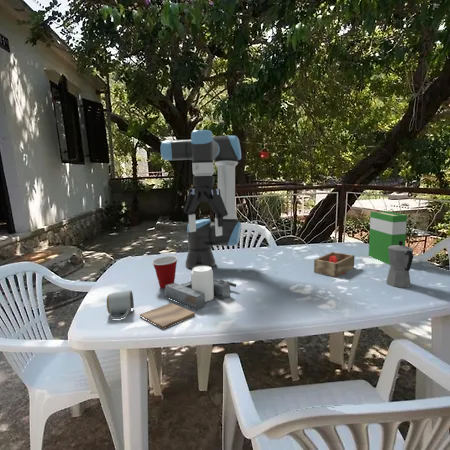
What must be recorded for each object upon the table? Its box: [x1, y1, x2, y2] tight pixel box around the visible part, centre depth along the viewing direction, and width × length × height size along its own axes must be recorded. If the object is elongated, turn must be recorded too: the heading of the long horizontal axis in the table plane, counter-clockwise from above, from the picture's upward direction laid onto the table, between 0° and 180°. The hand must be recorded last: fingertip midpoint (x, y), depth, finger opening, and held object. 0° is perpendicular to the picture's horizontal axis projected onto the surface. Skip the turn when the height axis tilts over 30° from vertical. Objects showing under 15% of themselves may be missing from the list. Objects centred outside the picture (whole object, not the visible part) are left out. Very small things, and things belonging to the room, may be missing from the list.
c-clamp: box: [164, 278, 237, 311], centre depth 130 cm, size 18×23×5 cm
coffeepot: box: [386, 241, 414, 288], centre depth 134 cm, size 15×9×18 cm, turn 0°
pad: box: [139, 302, 196, 329], centre depth 112 cm, size 13×13×1 cm
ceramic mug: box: [106, 290, 135, 320], centre depth 114 cm, size 11×8×8 cm
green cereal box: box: [368, 210, 408, 266], centre depth 169 cm, size 18×7×24 cm, turn 10°
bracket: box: [329, 256, 346, 275], centre depth 156 cm, size 12×4×8 cm, turn 8°
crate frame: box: [313, 251, 355, 278], centre depth 156 cm, size 11×18×6 cm, turn 136°
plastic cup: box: [151, 255, 178, 289], centre depth 139 cm, size 11×11×12 cm
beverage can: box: [190, 266, 215, 303], centre depth 125 cm, size 8×8×12 cm
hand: (205, 233), depth 122 cm, fingers open, 13 cm apart
